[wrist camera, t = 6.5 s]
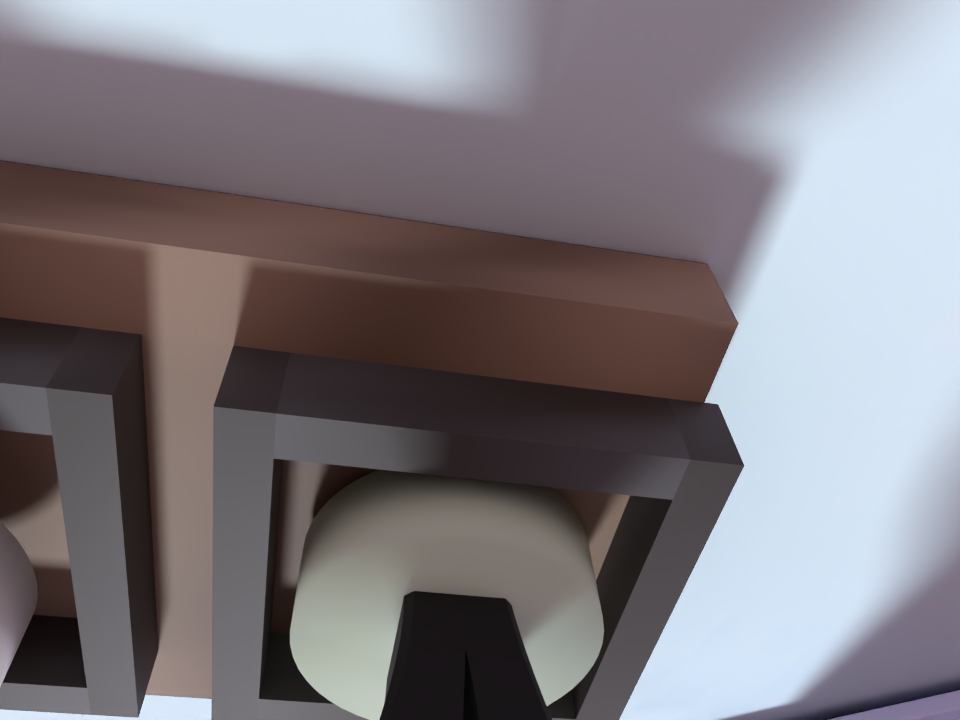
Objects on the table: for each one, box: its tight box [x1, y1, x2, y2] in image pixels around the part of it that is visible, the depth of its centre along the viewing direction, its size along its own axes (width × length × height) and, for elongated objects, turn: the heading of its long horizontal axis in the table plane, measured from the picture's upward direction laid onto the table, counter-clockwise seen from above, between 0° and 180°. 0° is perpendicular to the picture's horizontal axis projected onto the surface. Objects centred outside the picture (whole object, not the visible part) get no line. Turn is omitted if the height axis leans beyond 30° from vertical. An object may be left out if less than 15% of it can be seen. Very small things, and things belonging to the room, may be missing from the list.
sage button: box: [290, 470, 604, 720], centre depth 12 cm, size 4×4×1 cm
